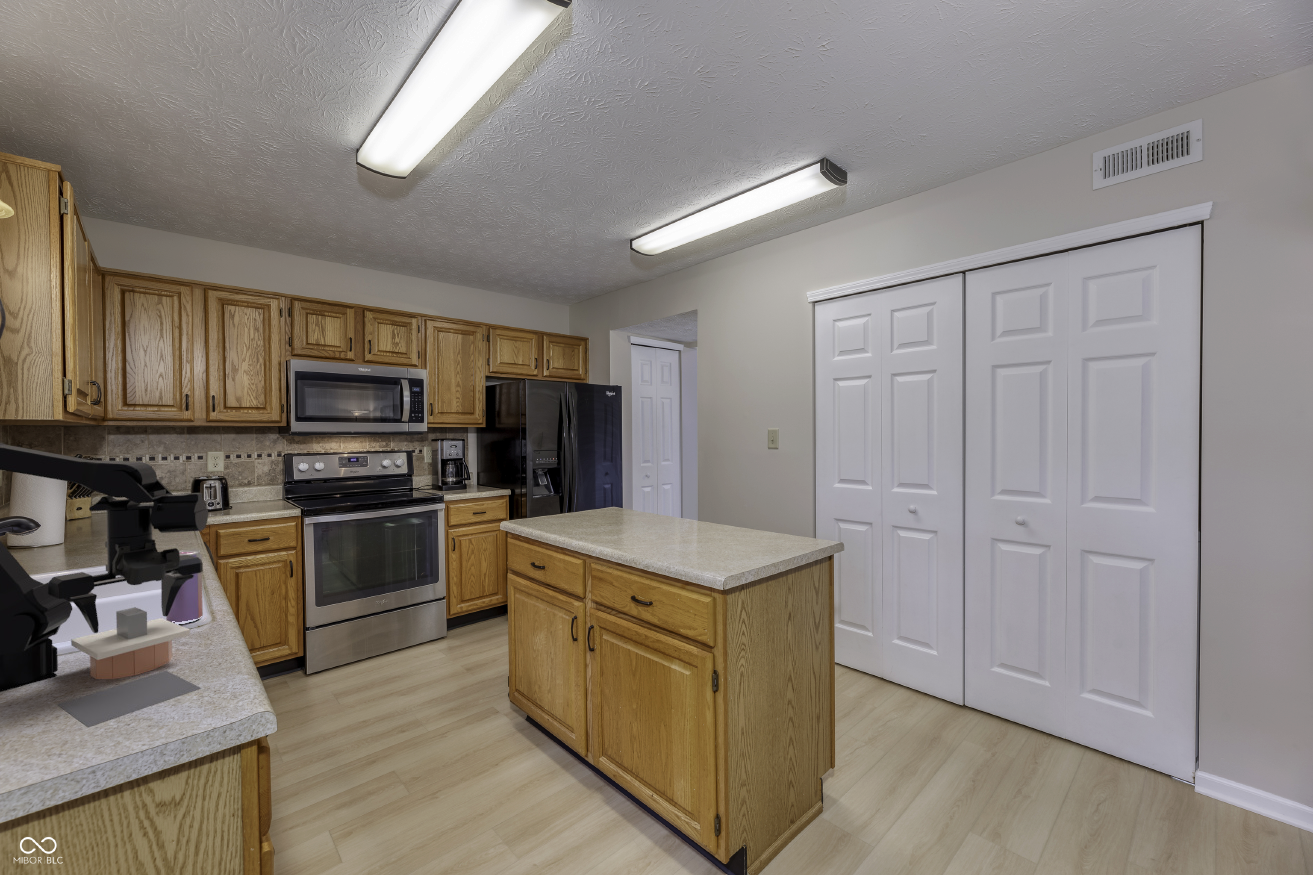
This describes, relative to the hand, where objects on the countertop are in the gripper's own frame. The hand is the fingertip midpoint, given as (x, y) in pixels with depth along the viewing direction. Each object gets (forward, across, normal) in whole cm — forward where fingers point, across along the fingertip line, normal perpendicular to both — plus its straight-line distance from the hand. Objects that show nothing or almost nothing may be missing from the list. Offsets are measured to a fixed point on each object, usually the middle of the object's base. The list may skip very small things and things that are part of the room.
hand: (131, 623), depth 96 cm
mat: (+8, -4, -14) cm, 17 cm away
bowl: (+8, 0, 0) cm, 8 cm away
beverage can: (+8, +15, +21) cm, 27 cm away
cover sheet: (+3, 0, 0) cm, 3 cm away
